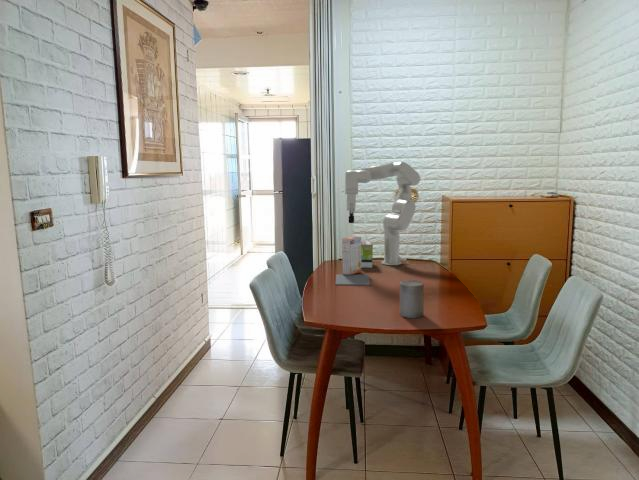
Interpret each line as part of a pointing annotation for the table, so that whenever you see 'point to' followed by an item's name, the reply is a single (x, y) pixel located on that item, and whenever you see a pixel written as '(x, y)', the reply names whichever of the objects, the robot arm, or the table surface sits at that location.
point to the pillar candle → (411, 298)
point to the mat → (352, 279)
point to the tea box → (366, 254)
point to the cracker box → (351, 255)
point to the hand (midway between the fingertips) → (351, 222)
